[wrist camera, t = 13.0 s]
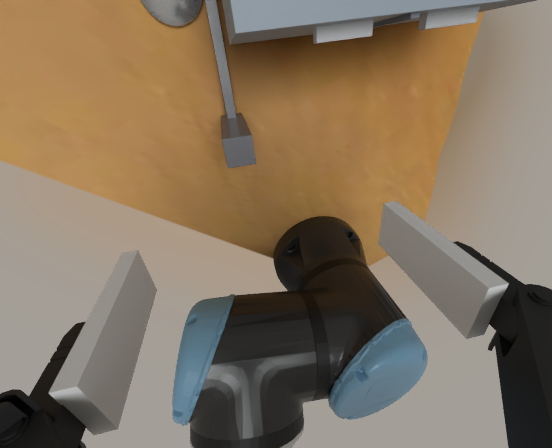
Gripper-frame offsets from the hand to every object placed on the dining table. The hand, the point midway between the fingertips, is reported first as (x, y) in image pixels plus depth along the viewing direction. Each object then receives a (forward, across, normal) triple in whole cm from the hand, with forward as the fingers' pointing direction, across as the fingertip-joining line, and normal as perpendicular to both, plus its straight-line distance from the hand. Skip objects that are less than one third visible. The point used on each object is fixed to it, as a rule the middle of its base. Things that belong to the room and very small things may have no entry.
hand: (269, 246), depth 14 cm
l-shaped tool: (+23, 0, -10) cm, 25 cm away
